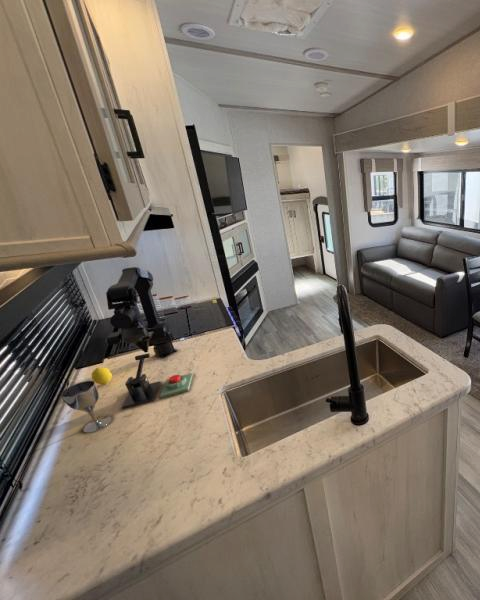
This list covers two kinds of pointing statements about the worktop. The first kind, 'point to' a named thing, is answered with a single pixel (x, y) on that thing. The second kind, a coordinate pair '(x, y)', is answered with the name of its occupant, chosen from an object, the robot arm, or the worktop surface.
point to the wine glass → (85, 403)
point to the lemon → (101, 375)
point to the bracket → (140, 392)
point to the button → (174, 379)
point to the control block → (176, 386)
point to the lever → (139, 369)
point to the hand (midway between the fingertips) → (146, 352)
